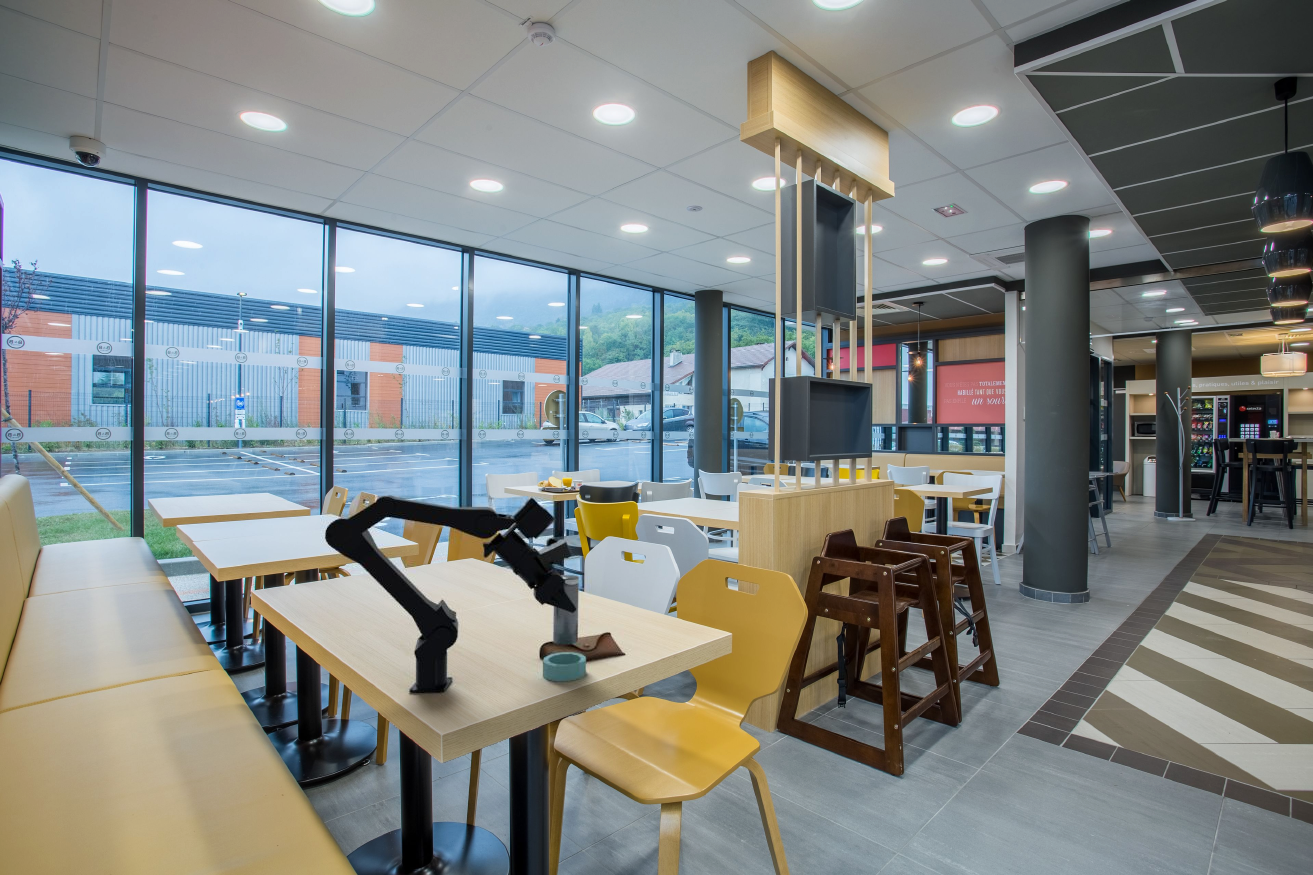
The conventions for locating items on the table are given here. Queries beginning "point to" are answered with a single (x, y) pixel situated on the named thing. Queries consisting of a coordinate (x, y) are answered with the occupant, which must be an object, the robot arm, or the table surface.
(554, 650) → the sunglasses case
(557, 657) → the ring
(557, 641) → the cylinder
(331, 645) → the table surface
